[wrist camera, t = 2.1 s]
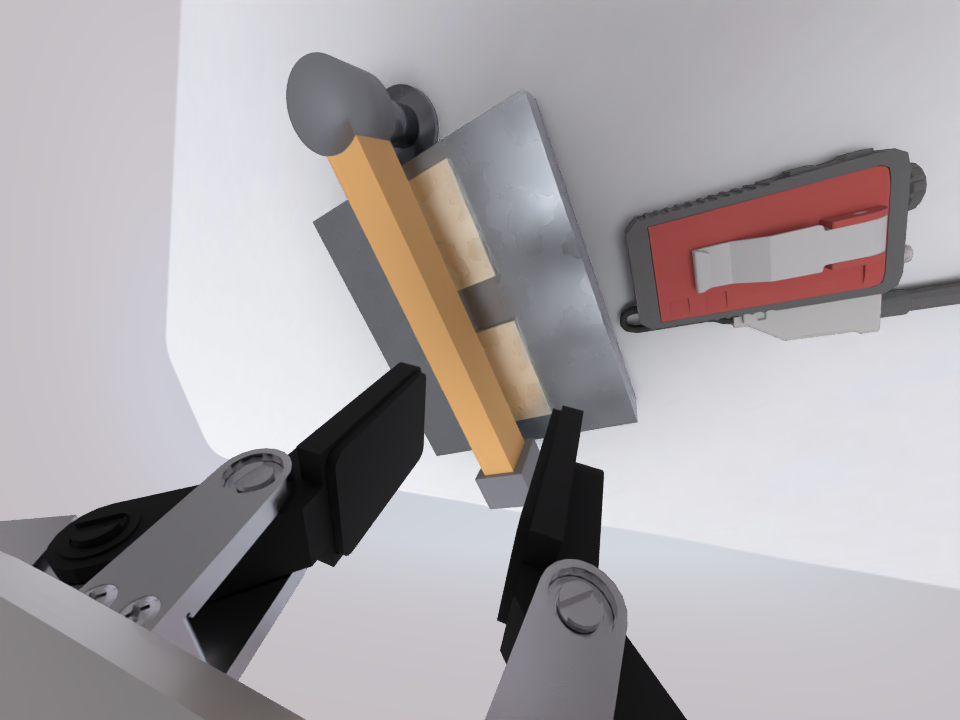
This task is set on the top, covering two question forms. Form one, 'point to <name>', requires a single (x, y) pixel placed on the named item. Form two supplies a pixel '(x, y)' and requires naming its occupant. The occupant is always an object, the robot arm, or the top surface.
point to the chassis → (499, 277)
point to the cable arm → (410, 260)
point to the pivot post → (412, 122)
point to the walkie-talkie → (786, 252)
